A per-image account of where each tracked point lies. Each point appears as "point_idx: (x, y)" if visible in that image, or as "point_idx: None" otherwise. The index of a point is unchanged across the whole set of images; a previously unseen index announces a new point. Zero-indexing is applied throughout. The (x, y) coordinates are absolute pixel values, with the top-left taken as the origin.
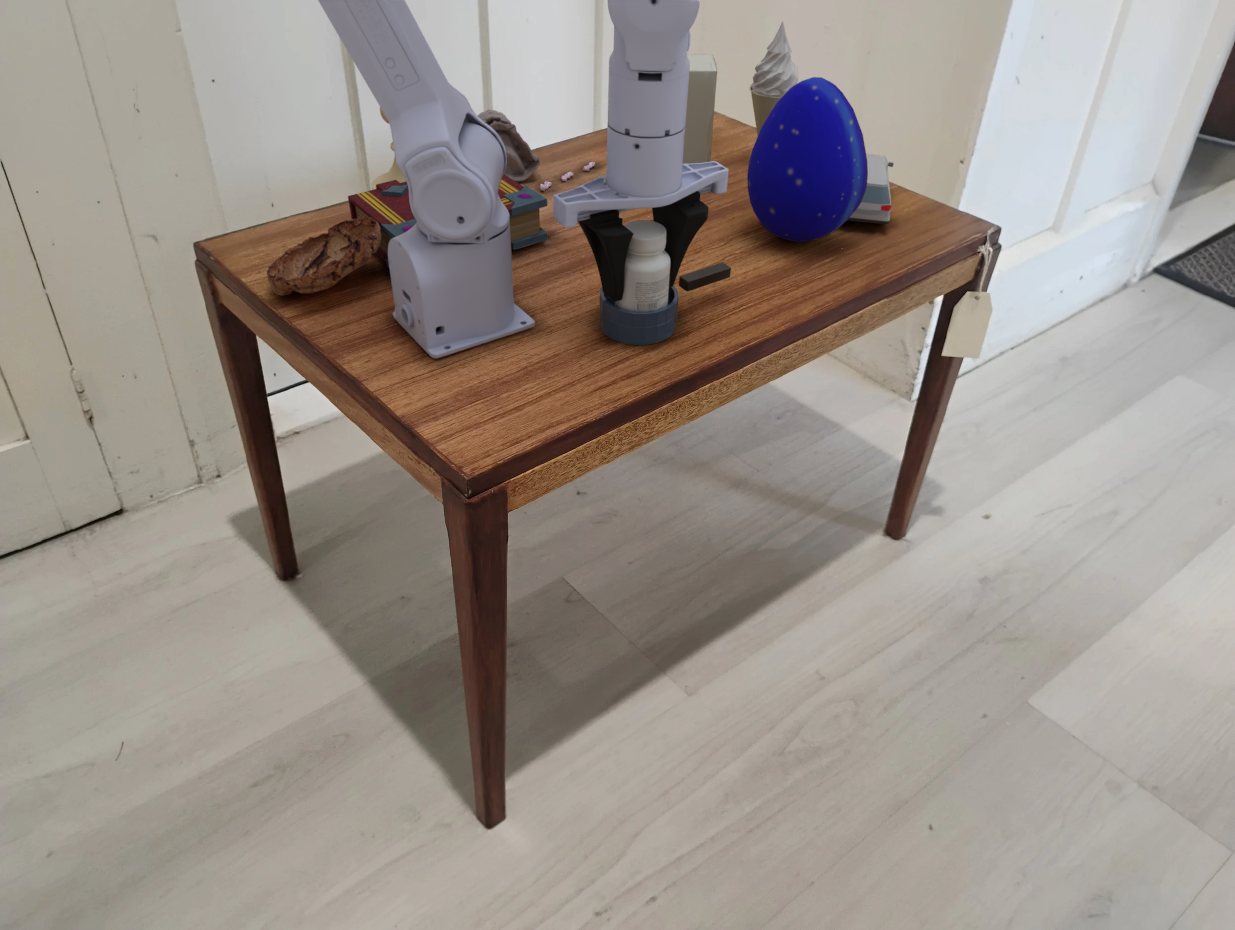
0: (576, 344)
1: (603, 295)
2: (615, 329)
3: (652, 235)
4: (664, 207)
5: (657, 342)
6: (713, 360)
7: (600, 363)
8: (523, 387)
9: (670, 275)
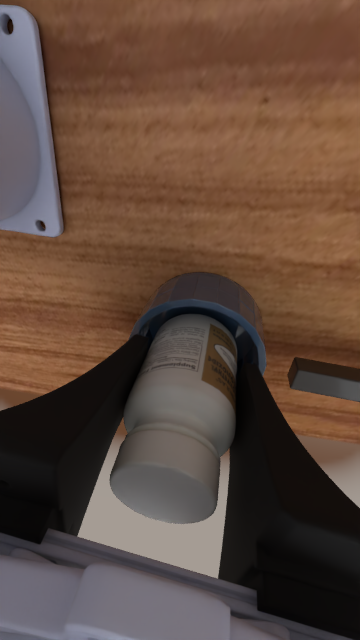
0: (99, 304)
1: (139, 329)
2: None
3: (156, 513)
4: (248, 541)
5: None
6: None
7: (104, 350)
8: (5, 325)
9: None
